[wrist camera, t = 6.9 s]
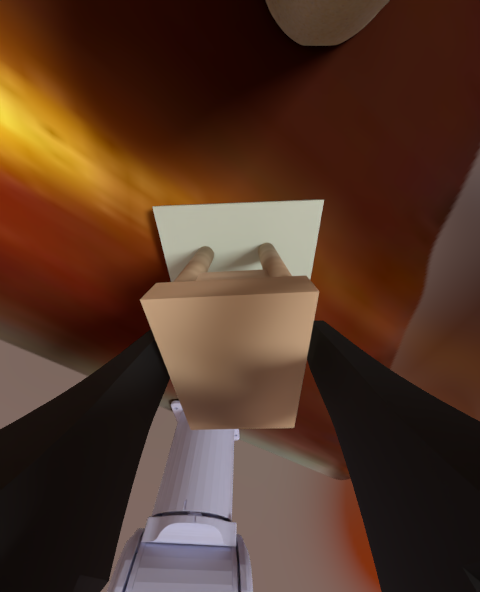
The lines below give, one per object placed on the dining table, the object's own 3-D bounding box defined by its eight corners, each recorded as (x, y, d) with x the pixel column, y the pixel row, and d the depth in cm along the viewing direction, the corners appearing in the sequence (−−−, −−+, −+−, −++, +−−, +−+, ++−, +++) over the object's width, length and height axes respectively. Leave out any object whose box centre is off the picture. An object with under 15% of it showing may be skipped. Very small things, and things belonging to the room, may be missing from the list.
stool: (277, 239, 11) (319, 291, 5) (273, 334, 15) (294, 427, 9) (193, 244, 12) (139, 299, 5) (210, 337, 15) (190, 429, 9)
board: (295, 342, 17) (297, 350, 16) (191, 344, 17) (188, 352, 16) (317, 199, 11) (324, 199, 10) (159, 205, 11) (152, 206, 10)
